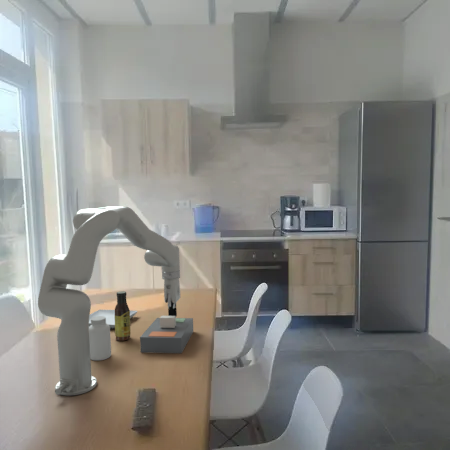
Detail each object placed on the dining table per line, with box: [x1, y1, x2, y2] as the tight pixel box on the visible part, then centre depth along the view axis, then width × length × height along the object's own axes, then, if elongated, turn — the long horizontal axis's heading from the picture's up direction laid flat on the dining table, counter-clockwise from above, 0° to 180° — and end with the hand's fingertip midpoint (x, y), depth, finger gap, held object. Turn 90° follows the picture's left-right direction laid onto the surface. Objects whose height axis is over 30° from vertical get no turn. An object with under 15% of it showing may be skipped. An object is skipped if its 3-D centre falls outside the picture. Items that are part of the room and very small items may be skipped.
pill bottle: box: [89, 316, 112, 361], centre depth 161 cm, size 8×8×15 cm
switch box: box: [139, 317, 194, 354], centre depth 176 cm, size 24×16×6 cm, turn 173°
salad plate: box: [89, 309, 138, 329], centre depth 203 cm, size 21×21×3 cm
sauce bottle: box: [114, 290, 131, 342], centre depth 179 cm, size 7×6×20 cm
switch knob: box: [159, 315, 177, 328], centre depth 175 cm, size 3×6×4 cm, turn 83°
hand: (172, 316), depth 183 cm, fingers closed
